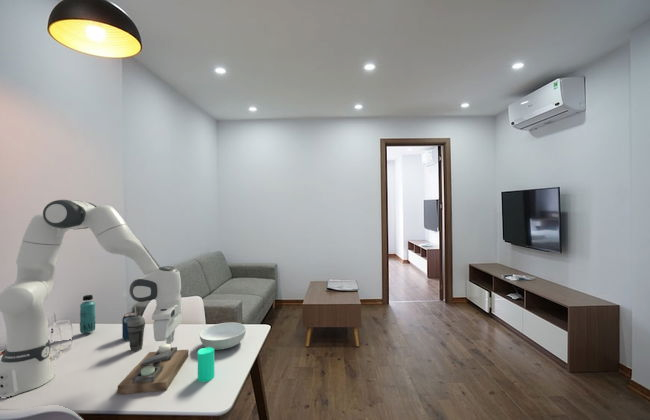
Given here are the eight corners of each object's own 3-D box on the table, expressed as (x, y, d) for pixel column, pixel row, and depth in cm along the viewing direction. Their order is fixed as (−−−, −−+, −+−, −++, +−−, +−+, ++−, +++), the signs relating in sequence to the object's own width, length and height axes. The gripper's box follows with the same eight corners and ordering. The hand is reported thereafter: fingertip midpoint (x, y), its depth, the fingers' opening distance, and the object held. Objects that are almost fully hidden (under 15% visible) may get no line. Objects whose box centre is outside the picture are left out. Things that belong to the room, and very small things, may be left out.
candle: (215, 379, 113) (215, 347, 113) (198, 383, 110) (198, 351, 110) (213, 371, 118) (212, 341, 118) (196, 375, 115) (196, 345, 115)
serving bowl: (219, 333, 155) (219, 320, 155) (254, 338, 149) (254, 325, 148) (189, 351, 136) (189, 336, 136) (227, 358, 129) (227, 342, 129)
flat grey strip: (141, 367, 115) (140, 364, 115) (146, 361, 119) (145, 358, 119) (167, 358, 116) (166, 355, 116) (171, 353, 120) (171, 350, 120)
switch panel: (117, 394, 104) (117, 380, 104) (149, 359, 129) (149, 347, 129) (166, 390, 106) (166, 376, 106) (188, 356, 131) (188, 345, 131)
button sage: (138, 379, 107) (138, 372, 107) (144, 372, 111) (144, 366, 111) (151, 378, 108) (151, 371, 108) (156, 371, 112) (156, 365, 112)
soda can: (131, 341, 146) (131, 316, 146) (118, 340, 147) (118, 316, 147) (142, 335, 153) (141, 312, 153) (130, 334, 154) (130, 311, 154)
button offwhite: (157, 354, 123) (157, 348, 123) (161, 349, 127) (161, 343, 127) (168, 353, 124) (168, 347, 124) (172, 348, 128) (172, 343, 128)
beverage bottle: (84, 331, 158) (84, 294, 158) (98, 330, 160) (98, 293, 160) (76, 336, 152) (76, 297, 152) (91, 335, 153) (91, 296, 153)
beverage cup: (130, 354, 133) (130, 309, 133) (124, 350, 137) (124, 306, 137) (148, 348, 138) (148, 305, 138) (141, 344, 143) (141, 302, 143)
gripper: (170, 300, 128) (171, 332, 128) (149, 317, 108) (150, 355, 108) (186, 299, 129) (186, 331, 129) (168, 316, 109) (169, 353, 109)
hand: (170, 342), depth 118 cm, fingers closed
